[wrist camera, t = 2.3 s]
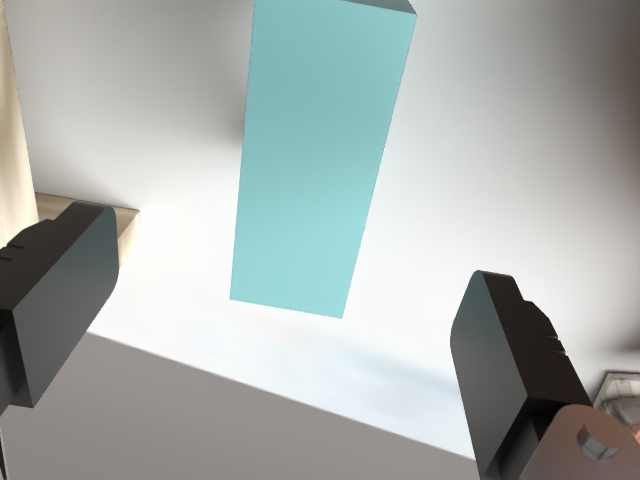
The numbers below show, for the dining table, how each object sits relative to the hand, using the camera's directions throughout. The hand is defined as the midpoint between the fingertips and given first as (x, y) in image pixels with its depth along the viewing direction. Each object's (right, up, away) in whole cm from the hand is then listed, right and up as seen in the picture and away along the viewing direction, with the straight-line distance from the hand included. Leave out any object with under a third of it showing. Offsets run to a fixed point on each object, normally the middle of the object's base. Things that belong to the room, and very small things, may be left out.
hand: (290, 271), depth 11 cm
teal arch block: (+1, +9, +14) cm, 17 cm away
